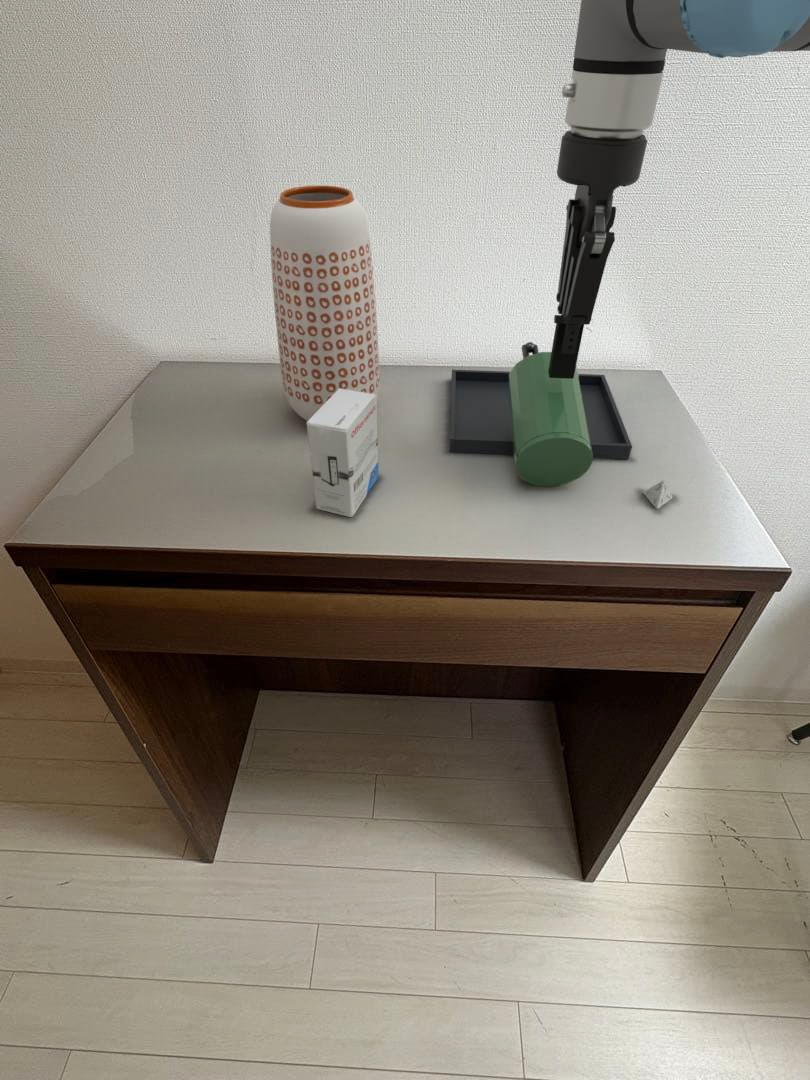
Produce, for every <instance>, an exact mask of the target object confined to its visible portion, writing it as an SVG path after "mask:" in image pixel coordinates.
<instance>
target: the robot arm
mask: <svg viewBox="0 0 810 1080" xmlns="http://www.w3.org/2000/svg"><path fill="white" fill-rule="evenodd" d="M574 45H575V46H574V53H573V63H572V71H571V80H572V83H565V84H564V85H563V87H562V91H561V95H562V97H563V98H565V99H566V98H569V99H568V101H567V104H566V111H565V118H564V122H565V124H566V126H568V127H570V130H567V131H565V132H564V134H563V135H562V136H561V141H560V147H559V155H558V162H557V168H556V175H557V177H558V179H559V180H560V181H562V182H564V183H566V184H569V185H573V186H576V188H575V189H576V190H575V194H574V199H572V198H571V199H568V202H567V204H566V207H565V208H566V209H565V210H566V219H565V221H566V222H565V232H564V240H563V247H562V255H561V264H560V269H559V270H560V271H559V279H558V286H557V287H558V289H557V293H556V297H555V298H556V303H558V305H557V309H556V310H557V314H554V317H553V323H554V324H555V329H554V334H553V340H552V346H551V351H550V352H551V358H550V364H549V370H548V374H549V378H569V379H573V378H574V373H575V368H576V367H577V362H578V358H579V353H580V349H581V348H580V347H581V343H582V338H583V333H584V328H585V325H586V326H587V325H590V324H591V321H592V317H593V313H594V309H595V305H596V302H597V298H598V294H599V291H600V287H601V283H602V279H603V276H604V273H605V268H606V265H607V261H608V258H609V255H610V253H611V250H612V248H613V245H614V243H615V241H616V235H615V232H614V231H610V230H611V229H612V228H613V226H614V223H615V219H616V214H617V213H616V212H617V206H613V201H614V193H615V190H616V189H618V188H619V187H628V186H632V185H634V184H635V183H636V182H637V181H638V180H639V178H640V176H641V172H642V167H643V163H644V158H645V154H646V150H647V144H648V139H647V136H646V135H645V134H643V133H644V131H646V130H647V129H649V128H650V127H652V126H653V120H654V117H655V116H654V115H655V112H656V107H657V103H658V98H659V94H660V89H661V84H662V80H663V76H664V69H665V64H666V55H667V52H668V50H673V51H681V52H690V53H697V54H708V55H709V56H710V57H714V58H718V59H724V58H726V57H729V58H744V57H748V56H750V57H751V56H759V55H764V54H767V53H779V52H784V53H785V52H802V51H803V52H810V0H581V1H580V9H579V15H578V22H577V31H576V37H575V44H574Z"/></svg>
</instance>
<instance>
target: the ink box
mask: <svg viewBox="0 0 810 1080" xmlns="http://www.w3.org/2000/svg"><path fill="white" fill-rule="evenodd" d="M378 425H379V423H378V395H376V394H370V393H365V392H359V391H354V390H348V389H342V388H340V389H338V390H337V391H336V392H335V393H334V394H333V395H332V397H331V398H330V399H329V400H328V401H327V402H326V403H325V404H324V405H323V406H322V407H321V408H320V409H319V410H318V411H317V412H316V413H315V414H314V415H313V416H312V417H311V418H310V419H309V420H308V421H306V429H307V438H308V447H309V448H308V449H309V456H310V463H311V472H312V482H313V491H314V492H313V493H314V502H315V508H316V510H320V511H323V512H328V513H331V514H335V515H340V516H344V517H347V518H353V517H354V515H355V514H356V513H357V511H358V510H359V508H360V507H361V505H362V503H363V501H364V500H365V499H366V497H367V496H368V494H369V493H370V491H371V490H372V488H373V486H374V485H375V484H376V482H377V480H378V479H379V433H378V431H379V427H378Z"/></svg>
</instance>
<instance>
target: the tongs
mask: <svg viewBox="0 0 810 1080" xmlns="http://www.w3.org/2000/svg"><path fill="white" fill-rule="evenodd" d="M536 353H540V351H539V346H538V344H536V343H535V344H534V342H531V341H528V342H526V344H525V343H524V344H522V345H521V355H522V360H523V359H524V358H526V357H527V356H530V354H531V355H533V354H536Z"/></svg>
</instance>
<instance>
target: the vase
mask: <svg viewBox="0 0 810 1080" xmlns="http://www.w3.org/2000/svg"><path fill="white" fill-rule="evenodd" d="M364 210H365V209H364V207H363V206H362V204H361V203H360V201H359V200H358V199H357V198H356V197H355V196H354V193H353V192H352V191H351V190H350V189H348V188H345V187H341V186H334V185H304V186H296V187H292V188H288V189H285V190H283V191H282V192H281V193H280V195H279V198H278V200H277V201H276V202H275V203H274V205H273V207H272V210H271V214H270V221H269V237H270V238H269V240H270V241H269V243H270V264H271V279H272V281H271V282H272V289H273V290H272V294H273V304H274V307H273V308H274V315H275V316H274V317H275V326H276V337H277V346H278V355H279V364H280V373H281V374H280V375H281V381H282V388H283V392H284V395H285V398H286V400H287V402H288V403H289V406H290V407H291V408H292V410H294V412H295V413H296V414H297V415H298V416H299V417H300V418H302V419H303V420H305V422H307V421H308V420H309V419H310V418H311V417H312V416H313V415H314V414H315V413H316V412H317V411H318V410H319V409H320V408H321V407H322V406H323V405H324V404H325V403H326V402H327V401H328V400H329V399H330V398H331V397H332V395H333V394H334V393H335V392H336V391H337V390H338V389H340V388H342V389H348V390H354V391H359V392H365V393H370V394H376V395H377V396H378V395H379V390H380V381H381V375H380V355H379V354H380V353H379V337H378V336H379V335H378V323H377V322H378V320H377V319H378V318H377V305H376V304H377V303H376V293H375V278H374V268H373V267H374V266H373V259H372V258H373V257H372V250H371V242H370V235H369V234H370V233H369V228H368V227H369V226H368V222H367V217H366V213H365V211H364Z"/></svg>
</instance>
